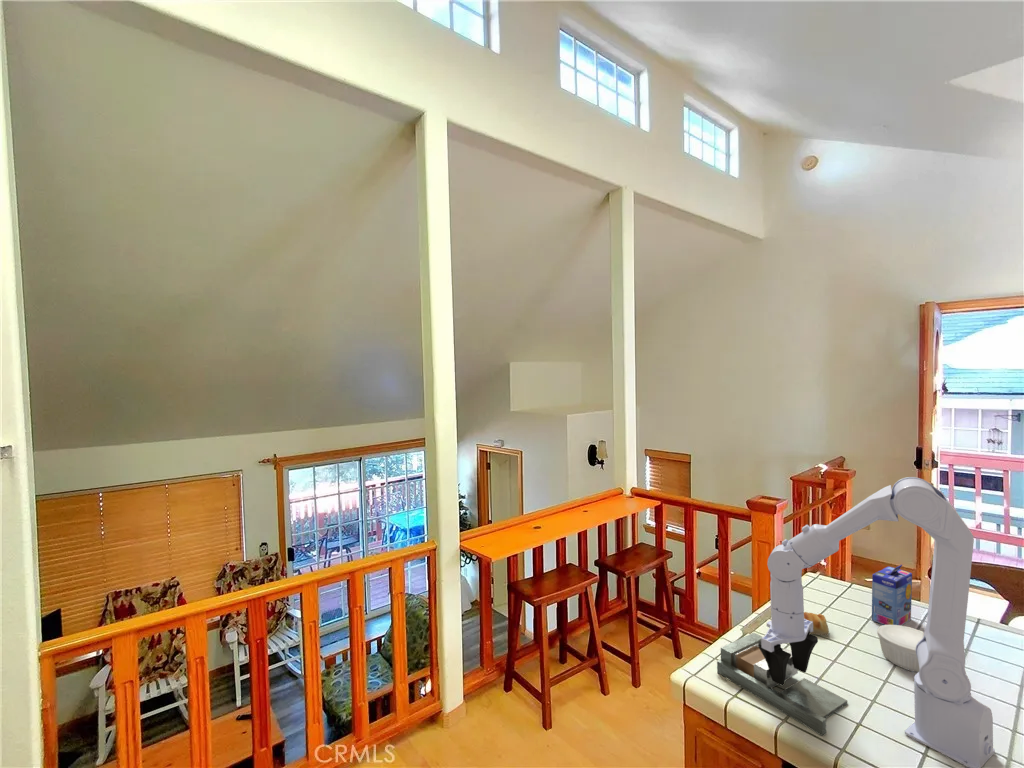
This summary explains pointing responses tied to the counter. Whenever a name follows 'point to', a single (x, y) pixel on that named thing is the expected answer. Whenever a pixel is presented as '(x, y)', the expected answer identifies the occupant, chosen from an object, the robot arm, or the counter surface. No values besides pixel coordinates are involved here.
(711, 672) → the counter surface
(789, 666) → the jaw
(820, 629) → the pastry
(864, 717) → the counter surface
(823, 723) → the vise body
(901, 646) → the ramekin
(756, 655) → the block
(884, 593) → the ink cartridge box
